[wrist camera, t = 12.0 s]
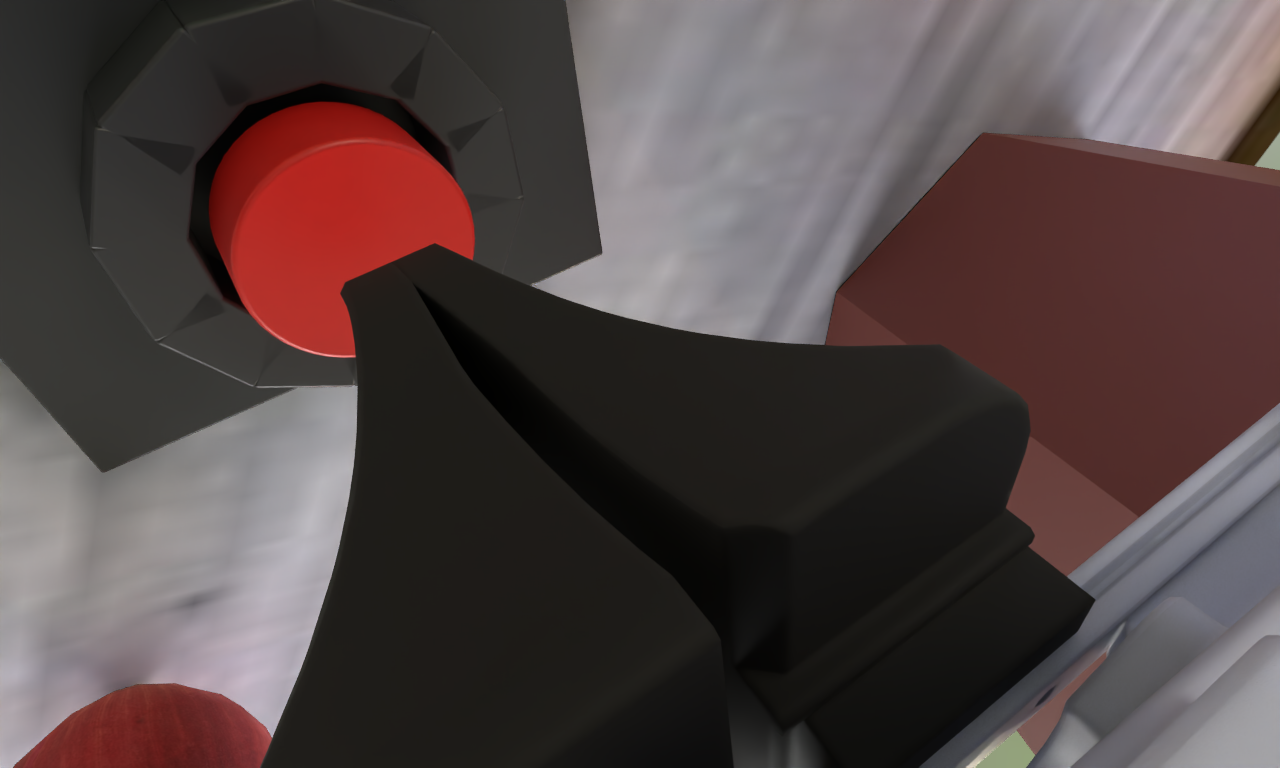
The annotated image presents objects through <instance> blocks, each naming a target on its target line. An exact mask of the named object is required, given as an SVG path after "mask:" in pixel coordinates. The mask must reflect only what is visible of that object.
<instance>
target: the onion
mask: <svg viewBox="0 0 1280 768" xmlns="http://www.w3.org/2000/svg"><path fill="white" fill-rule="evenodd" d="M271 740H272V737H271V736H270V734H269V732H268V730H267V729H266V727H265V726H264V725H263V724H261V723H260V722H259V721H258V720H257V719H256V718H254V717H253V716H252V715H251V714H250V713H248V712H247V711H246V710H245V709H244V708H243V707H241V706H240V705H238V704H236V703H235V702H233V701H232V700H230V699H228V698H227V697H225V696H223V695H222V694H217V693H213V692H208V691H204V690H200V689H195V688H191V687H187V686H183V685H179V684H175V683H172V684H136V685H134V686H131V687H126V688H124V689H121V690H117V691H114V692H112V693H110V694H108V695H106V696H104V697H102V698H100V699H99V700H97V701H95V702H93V703H91V704H89V705H87V706H85V707H84V708H82V709H80V710H78V711H76V712H74V713H72V714H71V715H70V716H69V717H68V718H66V719H65V720H64V721H63V722H62V723H61V724H60V725H59V726H57V727H56V728H55V729H54V730H53V731H52V732H51V733H50V734H48V735H47V736H46V737H45V738H44V739H43V740H42V741H41V742H40V743H39V744H37V745H36V746H35V747H34V748H33V749H32V750H31V751H30V752H29V753H27V754H26V755H25V756H24V757H23V758H22V759H21V760H20V761H19V762H17V763H16V764H15V766H14V767H13V768H260V766H261V764H262V761H263V759H264V757H265V755H266V752H267V750H268V747H269V745H270V743H271Z"/></svg>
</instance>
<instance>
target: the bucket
mask: <svg viewBox="0 0 1280 768" xmlns="http://www.w3.org/2000/svg"><path fill="white" fill-rule="evenodd" d="M931 344H941V345H942V346H944V347H946V348H947V349H949V350H951V351H953V352H954V353H956V354H958V355H959V356H961V357H962V358H964V359H965V360H967V361H969V362H970V363H972V364H973V365H975V366H976V367H978V368H979V369H981V370H983V371H984V372H986V373H987V374H989V375H990V376H992V377H993V378H995V379H997V380H998V381H1000V382H1001V383H1003V384H1004V385H1006V386H1007V387H1009V388H1011V389H1012V390H1014V391H1015V392H1017V393H1018V394H1019V395H1020V396H1021V397H1022V398H1023V399H1024V401H1025V402H1026V403H1027V404H1028V409H1029V418H1030V428H1031V432H1030V436H1029V440H1028V444H1027V448H1026V452H1025V455H1024V458H1023V461H1022V464H1021V466H1020V469H1019V472H1018V475H1017V478H1016V481H1015V483H1014V486H1013V489H1012V492H1011V495H1010V497H1009V500H1008V503H1007V506H1006V509H1008V510H1009V511H1010V512H1011V513H1013V514H1014V515H1015V516H1017V517H1018V518H1019V519H1021V520H1022V521H1023V522H1025V523H1026V524H1027V525H1028V526H1030V527H1031V529H1032V531H1033V533H1034V534H1035V537H1034V539H1033V542H1032V543H1031V544H1030V545H1029V546H1028V547H1030V548H1031V549H1032V550H1033V551H1035V552H1036V553H1037V554H1039V555H1040V556H1041V557H1042V558H1044V559H1045V560H1046V561H1047V562H1049V563H1050V564H1051V565H1053V566H1054V567H1055V568H1056V569H1058V570H1059V571H1060V572H1061V573H1063V574H1064V575H1065V576H1068V575H1069V574H1070V573H1072V572H1073V571H1074V570H1075V569H1077V568H1078V567H1079V566H1080V565H1081V564H1083V563H1084V562H1085V561H1086V560H1088V559H1089V558H1090V557H1091V556H1093V555H1094V554H1095V553H1096V552H1097V551H1099V550H1100V549H1101V548H1102V547H1104V546H1105V545H1106V544H1107V543H1108V542H1110V541H1111V540H1112V539H1113V538H1115V537H1116V536H1117V535H1118V534H1120V533H1121V532H1122V531H1123V530H1124V529H1126V528H1127V527H1128V526H1129V525H1131V524H1132V523H1133V522H1134V521H1135V520H1137V519H1138V518H1139V517H1140V516H1142V515H1143V514H1144V513H1145V512H1147V511H1148V510H1149V509H1150V508H1151V507H1153V506H1154V505H1155V504H1156V503H1158V502H1159V501H1160V500H1161V499H1162V498H1164V497H1165V496H1166V495H1167V494H1169V493H1170V492H1171V491H1172V490H1174V489H1175V488H1176V487H1177V486H1178V485H1180V484H1181V483H1182V482H1183V481H1185V480H1186V479H1187V478H1188V477H1190V476H1191V475H1192V474H1193V473H1194V472H1196V471H1197V470H1198V469H1199V468H1201V467H1202V466H1203V465H1204V464H1205V463H1207V462H1208V461H1209V460H1210V459H1212V458H1213V457H1214V456H1215V455H1217V454H1218V453H1219V452H1220V451H1221V450H1223V449H1224V448H1225V447H1226V446H1228V445H1229V444H1230V443H1231V442H1232V441H1234V440H1235V439H1236V438H1237V437H1239V436H1240V435H1241V434H1242V433H1244V432H1245V431H1246V430H1247V429H1248V428H1250V427H1251V426H1252V425H1253V424H1255V423H1256V422H1257V421H1258V420H1260V419H1261V418H1262V417H1263V416H1264V415H1266V414H1267V413H1268V412H1269V411H1271V410H1272V409H1273V408H1274V407H1275V406H1277V405H1278V404H1279V403H1280V170H1275V169H1269V168H1263V167H1256V166H1250V165H1244V164H1238V163H1231V162H1225V161H1219V160H1213V159H1207V158H1200V157H1194V156H1188V155H1182V154H1175V153H1169V152H1163V151H1157V150H1151V149H1144V148H1138V147H1132V146H1126V145H1119V144H1113V143H1107V142H1101V141H1095V140H1088V139H1075V138H1059V137H1043V136H1027V135H1012V134H996V133H982V134H981V135H980V137H979V138H978V139H977V140H976V141H975V142H974V143H973V144H972V145H971V146H970V147H969V148H968V150H967V151H966V152H965V153H964V154H963V155H962V156H961V157H960V158H959V159H958V160H957V162H956V163H955V164H954V165H953V166H952V167H951V168H950V169H949V170H948V171H947V172H946V173H945V175H944V176H943V177H942V178H941V179H940V180H939V181H938V182H937V183H936V184H935V185H934V187H933V188H932V189H931V190H930V191H929V192H928V193H927V194H926V195H925V196H924V197H923V198H922V200H921V201H920V202H919V203H918V204H917V205H916V206H915V207H914V208H913V209H912V210H911V212H910V213H909V214H908V215H907V216H906V217H905V218H904V219H903V220H902V221H901V222H900V223H899V225H898V226H897V227H896V228H895V229H894V230H893V231H892V232H891V233H890V234H889V235H888V237H887V238H886V239H885V240H884V241H883V242H882V243H881V244H880V245H879V246H878V247H877V248H876V250H875V251H874V252H873V253H872V254H871V255H870V256H869V257H868V258H867V259H866V260H865V261H864V263H863V264H862V265H861V266H860V267H859V268H858V269H857V270H856V271H855V272H854V273H853V275H852V276H851V277H850V278H849V279H848V280H847V281H846V282H845V283H844V284H843V285H842V286H841V288H840V289H839V290H838V291H837V292H836V297H835V301H834V306H833V311H832V315H831V320H830V324H829V329H828V333H827V338H826V343H825V345H832V346H875V345H931ZM1106 652H1107V651H1106ZM1106 652H1105V653H1104V654H1103V655H1101V656H1100V657H1099V658H1098V659H1097V660H1096V661H1095V662H1094V663H1092V664H1091V665H1090V666H1089V667H1088V668H1087V669H1086V670H1084V671H1083V672H1082V673H1081V674H1080V675H1079V676H1078V677H1077V678H1075V679H1074V680H1073V681H1072V682H1071V683H1070V684H1069V685H1067V686H1066V687H1065V688H1064V689H1063V690H1062V691H1061V692H1060V693H1058V694H1057V695H1056V696H1055V697H1054V698H1053V699H1052V700H1050V701H1049V702H1048V703H1047V704H1046V705H1045V706H1044V707H1043V708H1041V709H1040V710H1039V711H1038V712H1037V713H1036V714H1035V715H1033V716H1032V717H1031V718H1030V719H1029V720H1028V721H1027V722H1026V723H1024V724H1023V725H1022V726H1021V727H1020V728H1019V729H1018V730H1017V731H1018V733H1019V734H1020V735H1021V736H1022V738H1023V739H1024V741H1025V742H1026V743H1027V745H1028V746H1029V747H1030V748H1031V750H1032V751H1033V753H1034V754H1035V755H1036V754H1037V753H1038V752H1039V750H1040V749H1041V748H1042V746H1043V745H1044V744H1045V742H1046V741H1047V739H1048V737H1049V736H1050V734H1051V733H1052V731H1053V729H1054V728H1055V726H1056V725H1057V723H1058V721H1059V720H1060V718H1061V715H1062V712H1063V709H1064V706H1065V703H1066V701H1067V700H1068V699H1069V697H1070V696H1071V695H1072V694H1073V693H1074V692H1075V691H1076V690H1077V689H1078V688H1079V687H1080V686H1081V685H1082V684H1083V683H1084V682H1085V681H1086V679H1087V678H1088V677H1089V676H1090V675H1091V674H1092V673H1093V672H1094V671H1095V670H1096V669H1097V668H1098V667H1099V666H1100V665H1101V664H1102V663H1103V662H1104V660H1105V659H1106V658H1107V657H1106Z"/></svg>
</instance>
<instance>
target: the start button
mask: <svg viewBox="0 0 1280 768" xmlns="http://www.w3.org/2000/svg"><path fill="white" fill-rule="evenodd" d="M209 220H210V227H211V231H212V234H213V238H214V241H215V244H216V246H217V248H218V250H219V253H220V255H221V257H222V259H223V261H224V264H225V266H226V268H227V270H228V273H229V275H230V277H231V279H232V281H233V284H234V286H235V288H236V290H237V292H238V295H239V297H240V299H241V301H242V303H243V304H244V306H245V307H246V309H247V310H248V312H249V313H250V315H251V316H252V317H253V318H254V319H255V320H256V321H257V323H258V324H259V325H260V326H261V327H263V328H264V329H265V330H266V331H267V332H269V333H270V334H271V335H272V336H274V337H276V338H277V339H279V340H281V341H282V342H284V343H286V344H288V345H290V346H292V347H295V348H297V349H299V350H302V351H306V352H309V353H312V354H316V355H322V356H327V357H340V358H348V357H356V355H355V343H354V337H353V331H352V325H351V320H350V316H349V312H348V309H347V306H346V304H345V302H344V300H343V298H342V296H341V294H340V292H341V290H342V288H343V286H344V284H345V282H347V281H349V280H351V279H353V278H356V277H358V276H360V275H363V274H365V273H367V272H369V271H372V270H374V269H376V268H379V267H381V266H383V265H386V264H388V263H390V262H392V261H395V260H397V259H399V258H402V257H404V256H406V255H408V254H411V253H413V252H415V251H418V250H420V249H422V248H424V247H427V246H429V245H431V244H434V243H436V244H438V245H440V246H443V247H445V248H447V249H450V250H452V251H454V252H456V253H458V254H460V255H462V256H464V257H466V258H469V259H471V260H473V256H474V245H475V235H474V223H473V218H472V213H471V210H470V207H469V205H468V202H467V199H466V197H465V195H464V193H463V191H462V190H461V188H460V186H459V185H458V183H457V182H456V181H455V179H454V178H453V176H452V175H451V174H450V173H449V172H448V171H447V170H446V169H445V168H444V167H443V166H442V165H441V164H440V163H439V162H438V161H437V160H436V159H435V158H434V157H433V156H432V155H430V154H429V153H428V152H427V151H426V150H425V149H424V148H423V147H422V146H421V145H420V144H419V143H418V142H417V141H416V140H415V139H414V138H413V137H412V136H410V135H409V134H408V133H407V132H406V131H405V130H404V129H403V128H401V127H400V126H399V125H397V124H396V123H395V122H393V121H392V120H390V119H388V118H387V117H385V116H383V115H382V114H379V113H377V112H375V111H372V110H370V109H368V108H364V107H361V106H357V105H354V104H348V103H341V102H312V103H304V104H300V105H295V106H291V107H288V108H285V109H283V110H280V111H277V112H275V113H272V114H271V115H269V116H267V117H265V118H263V119H262V120H260V121H258V122H257V123H255V124H254V125H253V126H251V127H250V128H249V129H247V130H246V131H245V132H244V133H243V134H242V135H241V136H240V137H239V138H238V139H237V140H236V141H235V142H234V143H233V144H232V146H231V147H230V148H229V150H228V151H227V152H226V154H225V155H224V157H223V159H222V161H221V162H220V164H219V166H218V168H217V170H216V173H215V176H214V179H213V182H212V186H211V191H210V196H209Z"/></svg>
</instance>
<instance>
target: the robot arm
mask: <svg viewBox="0 0 1280 768" xmlns="http://www.w3.org/2000/svg"><path fill="white" fill-rule="evenodd" d="M340 294H341V296H342V298H343V300H344V302H345V304H346V306H347V309H348V312H349V316H350V320H351V325H352V331H353V337H354V343H355V355H356V368H357V382H358V400H357V436H356V448H355V459H354V468H353V475H352V482H351V489H350V496H349V502H348V507H347V512H346V516H345V521H344V526H343V531H342V536H341V541H340V545H339V549H338V554H337V558H336V562H335V565H334V569H333V573H332V577H331V580H330V583H329V586H328V589H327V592H326V596H325V599H324V602H323V605H322V608H321V611H320V614H319V618H318V621H317V624H316V627H315V630H314V633H313V636H312V640H311V643H310V646H309V649H308V652H307V654H306V657H305V660H304V662H303V665H302V668H301V671H300V673H299V675H298V678H297V680H296V683H295V685H294V687H293V690H292V692H291V695H290V697H289V699H288V702H287V704H286V707H285V709H284V711H283V714H282V716H281V719H280V721H279V723H278V726H277V728H276V731H275V733H274V735H273V738H272V740H271V743H270V745H269V747H268V750H267V752H266V755H265V757H264V759H263V761H262V764H261V766H260V768H974V767H976V766H977V765H978V764H979V763H980V762H981V761H982V760H983V759H985V757H987V756H988V755H989V754H990V753H991V752H993V751H994V750H995V749H996V748H997V747H998V746H999V745H1001V744H1002V743H1003V742H1004V741H1005V740H1006V739H1007V738H1008V737H1009V736H1011V735H1012V734H1013V733H1014V732H1015V731H1016V730H1018V729H1019V728H1020V727H1021V726H1022V725H1023V724H1024V723H1026V722H1027V721H1028V720H1029V719H1030V718H1031V717H1032V716H1033V715H1035V714H1036V713H1037V712H1038V711H1039V710H1040V709H1041V708H1043V707H1044V706H1045V705H1046V704H1047V703H1048V702H1049V701H1050V700H1052V699H1053V698H1054V697H1055V696H1056V695H1057V694H1058V693H1060V692H1061V691H1062V690H1063V689H1064V688H1065V687H1066V686H1067V685H1069V684H1070V683H1071V682H1072V681H1073V680H1074V679H1075V678H1077V677H1078V676H1079V675H1080V674H1081V673H1082V672H1083V671H1084V670H1086V669H1087V668H1088V667H1089V666H1090V665H1091V664H1092V663H1094V662H1095V661H1096V660H1097V659H1098V658H1099V657H1100V656H1101V655H1103V654H1104V653H1105V652H1106V651H1107V652H1106V657H1107V658H1106V659H1105V660H1104V662H1103V663H1102V664H1101V665H1100V666H1099V667H1098V668H1097V669H1096V670H1095V671H1094V672H1093V673H1092V674H1091V675H1090V676H1089V677H1088V678H1087V679H1086V681H1085V682H1084V683H1083V684H1082V685H1081V686H1080V687H1079V688H1078V689H1077V690H1076V691H1075V692H1074V693H1073V694H1072V695H1071V696H1070V697H1069V699H1068V700H1067V701H1066V703H1065V706H1064V709H1063V712H1062V715H1061V718H1060V720H1059V721H1058V723H1057V725H1056V726H1055V728H1054V729H1053V731H1052V733H1051V734H1050V736H1049V737H1048V739H1047V741H1046V742H1045V744H1044V745H1043V746H1042V748H1041V749H1040V750H1039V752H1038V753H1037V754H1036V755H1035V757H1034V758H1033V760H1032V761H1031V762H1030V763H1029V765H1028V766H1027V767H1026V768H1280V403H1279V404H1278V405H1277V406H1275V407H1274V408H1273V409H1272V410H1271V411H1269V412H1268V413H1267V414H1266V415H1264V416H1263V417H1262V418H1261V419H1260V420H1258V421H1257V422H1256V423H1255V424H1253V425H1252V426H1251V427H1250V428H1248V429H1247V430H1246V431H1245V432H1244V433H1242V434H1241V435H1240V436H1239V437H1237V438H1236V439H1235V440H1234V441H1232V442H1231V443H1230V444H1229V445H1228V446H1226V447H1225V448H1224V449H1223V450H1221V451H1220V452H1219V453H1218V454H1217V455H1215V456H1214V457H1213V458H1212V459H1210V460H1209V461H1208V462H1207V463H1205V464H1204V465H1203V466H1202V467H1201V468H1199V469H1198V470H1197V471H1196V472H1194V473H1193V474H1192V475H1191V476H1190V477H1188V478H1187V479H1186V480H1185V481H1183V482H1182V483H1181V484H1180V485H1178V486H1177V487H1176V488H1175V489H1174V490H1172V491H1171V492H1170V493H1169V494H1167V495H1166V496H1165V497H1164V498H1162V499H1161V500H1160V501H1159V502H1158V503H1156V504H1155V505H1154V506H1153V507H1151V508H1150V509H1149V510H1148V511H1147V512H1145V513H1144V514H1143V515H1142V516H1140V517H1139V518H1138V519H1137V520H1135V521H1134V522H1133V523H1132V524H1131V525H1129V526H1128V527H1127V528H1126V529H1124V530H1123V531H1122V532H1121V533H1120V534H1118V535H1117V536H1116V537H1115V538H1113V539H1112V540H1111V541H1110V542H1108V543H1107V544H1106V545H1105V546H1104V547H1102V548H1101V549H1100V550H1099V551H1097V552H1096V553H1095V554H1094V555H1093V556H1091V557H1090V558H1089V559H1088V560H1086V561H1085V562H1084V563H1083V564H1081V565H1080V566H1079V567H1078V568H1077V569H1075V570H1074V571H1073V572H1072V573H1070V574H1069V575H1068V576H1065V575H1064V574H1063V573H1061V572H1060V571H1059V570H1058V569H1056V568H1055V567H1054V566H1053V565H1051V564H1050V563H1049V562H1047V561H1046V560H1045V559H1044V558H1042V557H1041V556H1040V555H1039V554H1037V553H1036V552H1035V551H1033V550H1032V549H1031V548H1030V547H1028V546H1029V545H1030V544H1031V543H1032V542H1033V539H1034V537H1035V534H1034V533H1033V531H1032V529H1031V527H1030V526H1028V525H1027V524H1026V523H1025V522H1023V521H1022V520H1021V519H1019V518H1018V517H1017V516H1015V515H1014V514H1013V513H1011V512H1010V511H1009V510H1008V509H1006V506H1007V503H1008V500H1009V497H1010V495H1011V492H1012V489H1013V486H1014V483H1015V481H1016V478H1017V475H1018V472H1019V469H1020V466H1021V464H1022V461H1023V458H1024V455H1025V452H1026V448H1027V444H1028V440H1029V436H1030V432H1031V428H1030V418H1029V409H1028V404H1027V403H1026V402H1025V401H1024V399H1023V398H1022V397H1021V396H1020V395H1019V394H1018V393H1017V392H1015V391H1014V390H1012V389H1011V388H1009V387H1007V386H1006V385H1004V384H1003V383H1001V382H1000V381H998V380H997V379H995V378H993V377H992V376H990V375H989V374H987V373H986V372H984V371H983V370H981V369H979V368H978V367H976V366H975V365H973V364H972V363H970V362H969V361H967V360H965V359H964V358H962V357H961V356H959V355H958V354H956V353H954V352H953V351H951V350H949V349H947V348H946V347H944V346H942V345H941V344H931V345H875V346H832V345H812V344H792V343H777V342H766V341H755V340H745V339H738V338H730V337H723V336H716V335H708V334H701V333H695V332H689V331H684V330H678V329H673V328H668V327H664V326H659V325H655V324H650V323H646V322H642V321H637V320H633V319H628V318H625V317H621V316H617V315H614V314H610V313H606V312H603V311H600V310H597V309H594V308H590V307H587V306H584V305H581V304H578V303H575V302H572V301H569V300H566V299H563V298H560V297H557V296H555V295H552V294H550V293H547V292H545V291H542V290H540V289H537V288H535V287H532V286H530V285H527V284H525V283H522V282H520V281H517V280H515V279H513V278H510V277H508V276H506V275H503V274H501V273H499V272H497V271H495V270H492V269H490V268H488V267H486V266H483V265H481V264H479V263H477V262H475V261H473V260H471V259H469V258H466V257H464V256H462V255H460V254H458V253H456V252H454V251H452V250H450V249H447V248H445V247H443V246H440V245H438V244H436V243H434V244H431V245H429V246H427V247H424V248H422V249H420V250H418V251H415V252H413V253H411V254H408V255H406V256H404V257H402V258H399V259H397V260H395V261H392V262H390V263H388V264H386V265H383V266H381V267H379V268H376V269H374V270H372V271H369V272H367V273H365V274H363V275H360V276H358V277H356V278H353V279H351V280H349V281H347V282H345V284H344V286H343V288H342V290H341V292H340Z"/></svg>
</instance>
